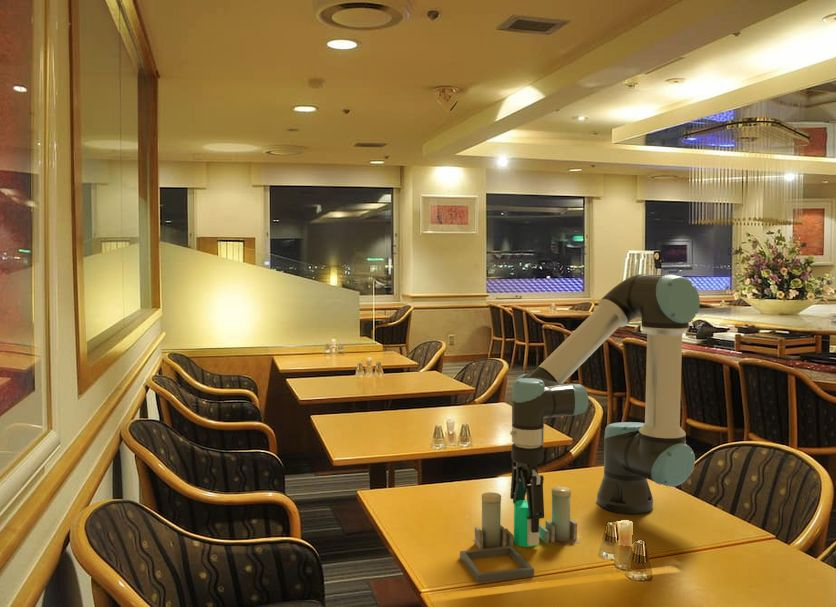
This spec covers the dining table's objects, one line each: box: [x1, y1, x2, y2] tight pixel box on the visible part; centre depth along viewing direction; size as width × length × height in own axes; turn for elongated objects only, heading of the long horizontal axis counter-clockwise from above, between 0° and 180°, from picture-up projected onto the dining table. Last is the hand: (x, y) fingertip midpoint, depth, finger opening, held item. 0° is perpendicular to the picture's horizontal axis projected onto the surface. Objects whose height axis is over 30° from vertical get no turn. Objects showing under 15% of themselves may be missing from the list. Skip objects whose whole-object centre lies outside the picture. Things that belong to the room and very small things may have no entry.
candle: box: [513, 499, 536, 548], centre depth 173 cm, size 6×6×12 cm
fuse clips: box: [472, 517, 581, 549], centre depth 171 cm, size 25×12×5 cm, turn 104°
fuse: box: [481, 491, 502, 548], centre depth 170 cm, size 5×5×12 cm
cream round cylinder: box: [551, 486, 572, 542], centre depth 175 cm, size 5×5×12 cm
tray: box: [459, 545, 535, 588], centre depth 159 cm, size 13×13×3 cm
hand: (526, 537), depth 173 cm, fingers open, 8 cm apart
